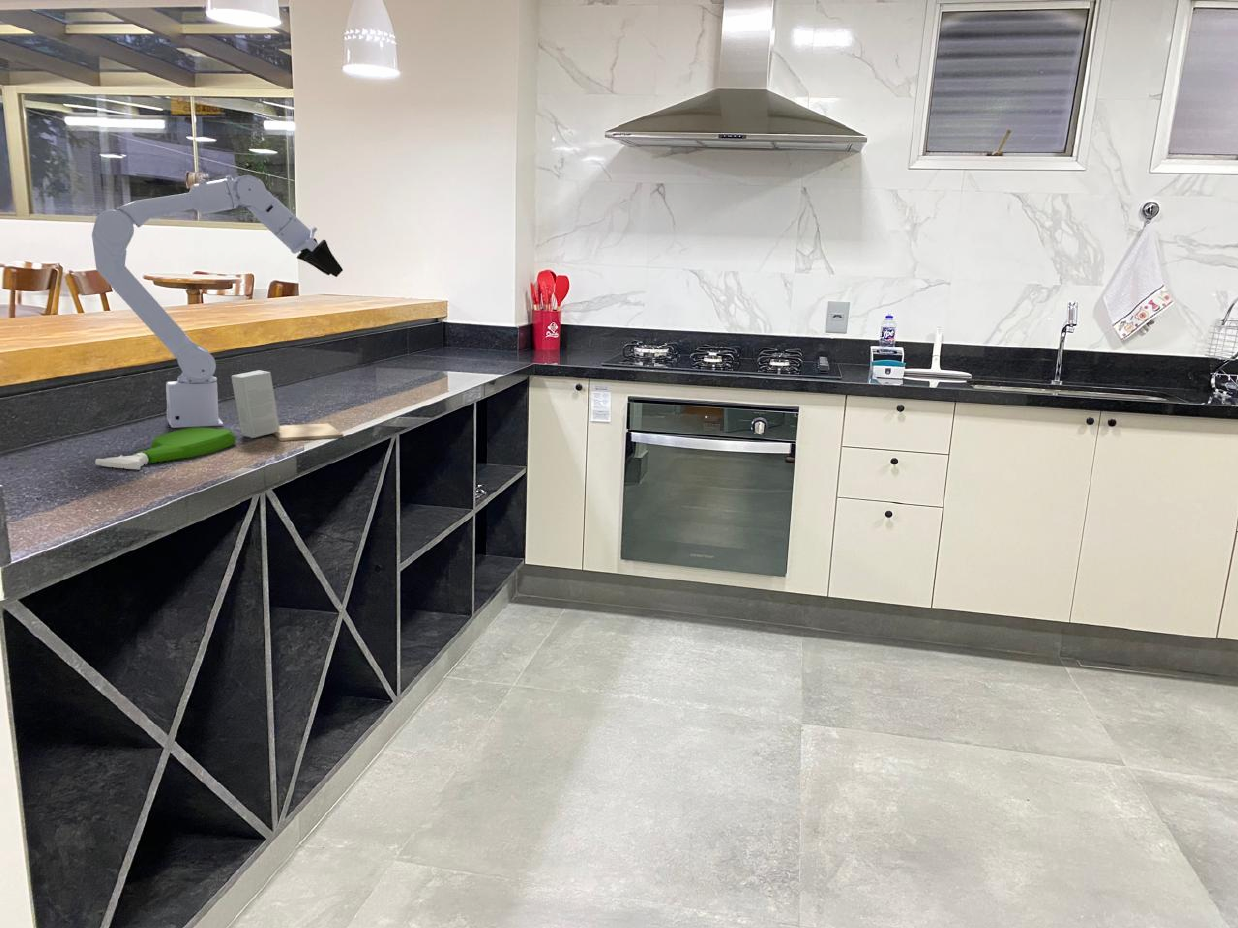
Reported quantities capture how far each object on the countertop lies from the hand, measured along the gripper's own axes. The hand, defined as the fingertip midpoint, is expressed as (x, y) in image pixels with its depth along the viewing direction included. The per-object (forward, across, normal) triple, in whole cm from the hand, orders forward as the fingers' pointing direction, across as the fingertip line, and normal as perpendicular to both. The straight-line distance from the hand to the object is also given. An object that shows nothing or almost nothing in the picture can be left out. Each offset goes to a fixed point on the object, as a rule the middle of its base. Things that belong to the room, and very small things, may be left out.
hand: (335, 272), depth 187 cm
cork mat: (+14, -14, +30) cm, 36 cm away
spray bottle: (-4, -28, +47) cm, 55 cm away
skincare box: (+8, -15, +35) cm, 39 cm away
